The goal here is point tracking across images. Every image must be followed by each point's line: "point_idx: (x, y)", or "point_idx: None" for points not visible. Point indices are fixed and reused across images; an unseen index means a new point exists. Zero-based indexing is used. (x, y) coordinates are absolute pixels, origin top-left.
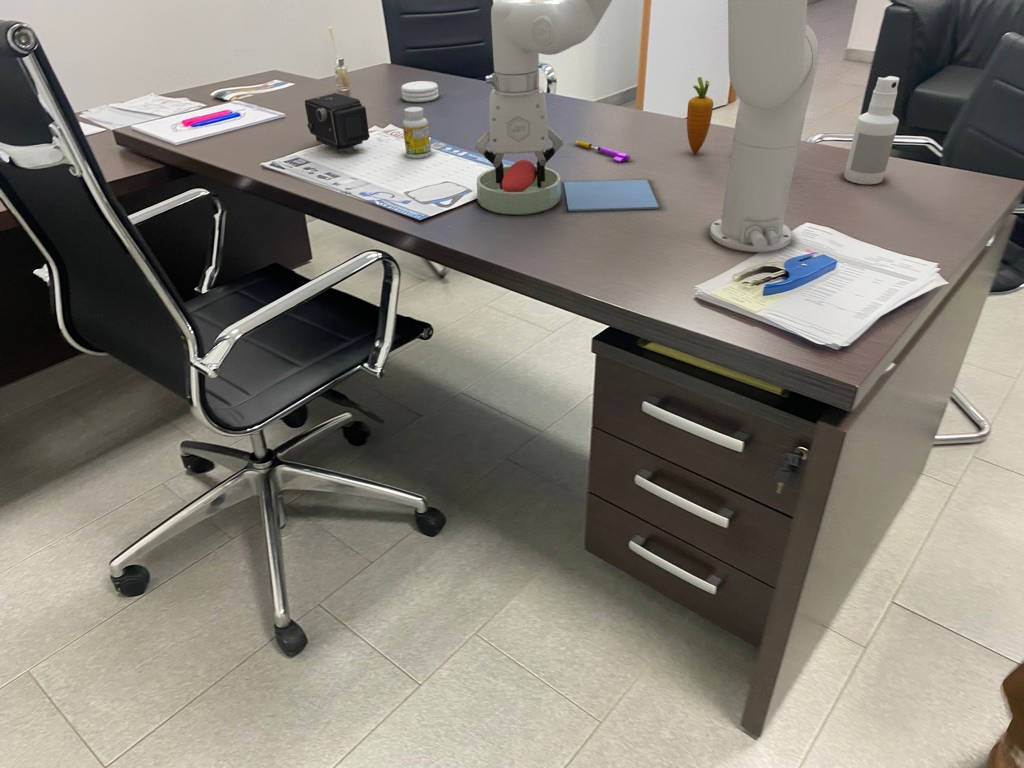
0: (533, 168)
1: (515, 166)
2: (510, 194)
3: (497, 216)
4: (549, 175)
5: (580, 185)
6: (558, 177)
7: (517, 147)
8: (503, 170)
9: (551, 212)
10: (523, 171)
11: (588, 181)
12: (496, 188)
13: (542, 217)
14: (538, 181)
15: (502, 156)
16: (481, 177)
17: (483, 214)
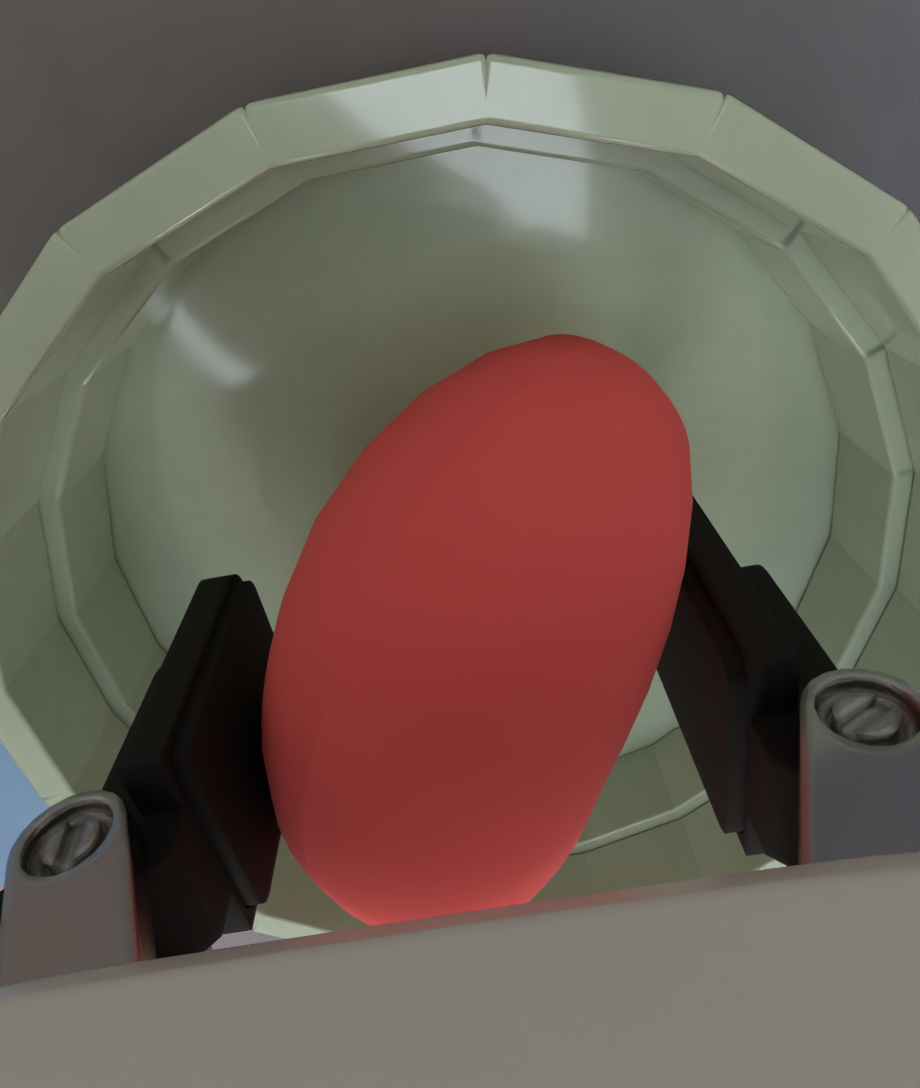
0: (272, 772)
1: (521, 707)
2: (510, 59)
3: (656, 13)
4: None
5: (25, 819)
6: (20, 738)
7: (483, 1058)
8: (698, 741)
9: (38, 234)
10: (369, 616)
11: (1, 883)
12: None
13: (79, 44)
14: (215, 614)
15: (815, 846)
16: None
17: (834, 68)
